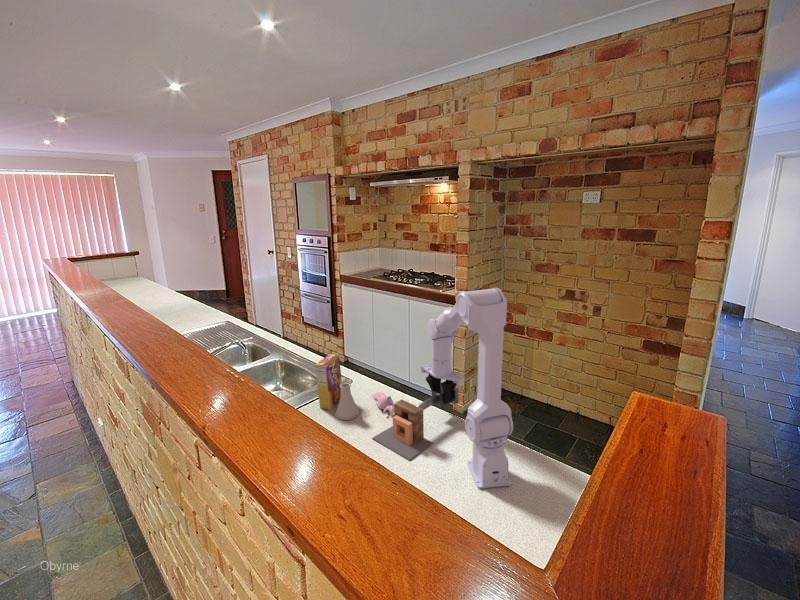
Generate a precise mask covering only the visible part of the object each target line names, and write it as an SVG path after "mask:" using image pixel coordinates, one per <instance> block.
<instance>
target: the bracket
mask: <svg viewBox="0 0 800 600" xmlns="http://www.w3.org/2000/svg"><path fill="white" fill-rule="evenodd" d="M393 403H394V411H395V416H396V415H397V416H399V417H401V418H403V419H405V420H407V421H409V422H411V423H412V426H413V443H415V444H417V443H419V442H420V441H422V440H423V439H424V438H425V437H424V435H425V434H424V431H425V430H424V428H425V427H424V410H423V409H422V408H420V407H417V405H415V404H413V403H410V402H409V401H407V400H404V399H400V400H398V401H396V402H393ZM406 413H407V414H408V417H407V415H406ZM400 429H401V432H402V433H404V434H405V428H404V427H402V426H400Z"/></svg>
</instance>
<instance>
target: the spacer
mask: <svg viewBox="0 0 800 600" xmlns="http://www.w3.org/2000/svg"><path fill="white" fill-rule="evenodd" d="M392 426H393V437H395V438H396V439H398V440H400V441H402V442H404V443H406V444H407V445H411V444H412V443H413V426H412V423H411V422H409V421H407V420H405V419H403V418H401V417H399V416H397V415H396V416H394V417H392ZM400 426H402V427H404V428H405V434H404V433H402V432H401V429H400Z"/></svg>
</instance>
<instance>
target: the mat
mask: <svg viewBox="0 0 800 600" xmlns="http://www.w3.org/2000/svg"><path fill="white" fill-rule="evenodd" d="M371 439H372V440H373V441H375V442H377V443H378V444H380V445H381V446H384V447H385V448H387V449H388V450H390V451H392V452H394V453H395V454H397V455H398V456H400V457H402V458H403V459H405V460H407V461H411V460H412V459H414V458H416V457H417V456H418V455H420V454H421V453H423V452H424V451H425V450H427V449H428V448H430V447H431V446H433V445H434V442H433V441H431V440H429V439H427V438H425V437H424V439H423V440H422V441H420V442H419V443H417V444H415V443H412V444H411V445H407V444H406V443H404V442H402V441H400V440H398V439H396V438H395V437H393V425H392V426H390V427H388V428H386V429H385V430H384V431H382V432H379V433H377V434H376V435H375V436H373V437H372V438H371Z"/></svg>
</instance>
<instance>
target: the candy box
mask: <svg viewBox="0 0 800 600" xmlns="http://www.w3.org/2000/svg"><path fill="white" fill-rule="evenodd" d="M314 366H315V373H316V376H315V377H316V383H317V385H316V386H317V392H318V393H317V394H318V400H319V403H318V404H319V408H320V409H325V410H332V409H333V408H334V407H335V406H336V405H337V404H339V403H338V402H339V401H340V398H341V388H340V385H341V384H343V380H342V371H341V362H340V355H339V354H328V355H326V356H325V357H323V358H322V359H321V360H319V361H318V362H317V363H315V365H314Z"/></svg>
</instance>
